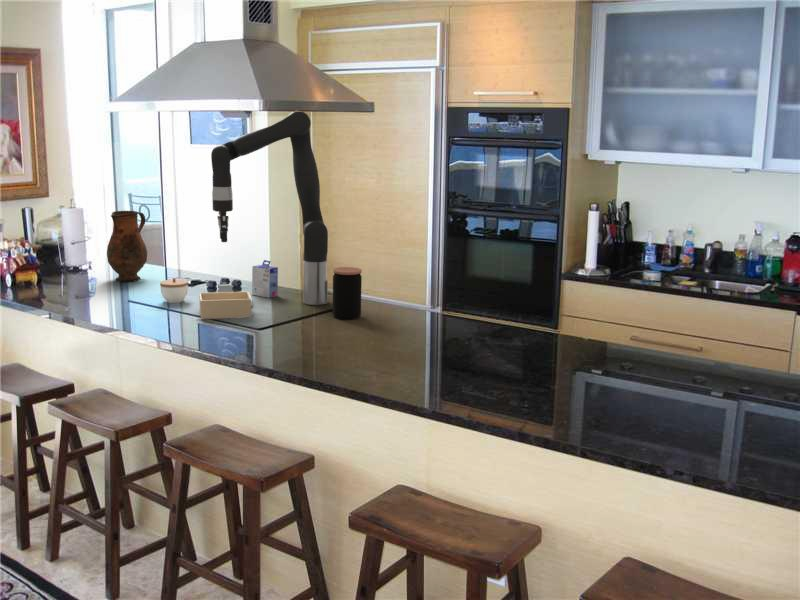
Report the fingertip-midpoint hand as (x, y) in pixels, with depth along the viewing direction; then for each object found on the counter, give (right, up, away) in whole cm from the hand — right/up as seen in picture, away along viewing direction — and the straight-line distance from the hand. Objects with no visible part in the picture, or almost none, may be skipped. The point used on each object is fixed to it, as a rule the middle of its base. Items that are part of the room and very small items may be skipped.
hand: (223, 240), depth 313 cm
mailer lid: (0, -24, +6) cm, 25 cm away
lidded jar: (-21, -24, +7) cm, 32 cm away
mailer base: (+3, -28, -11) cm, 31 cm away
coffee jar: (+48, -30, -9) cm, 57 cm away
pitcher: (-51, -14, +46) cm, 70 cm away
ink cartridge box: (+13, -21, +21) cm, 33 cm away
